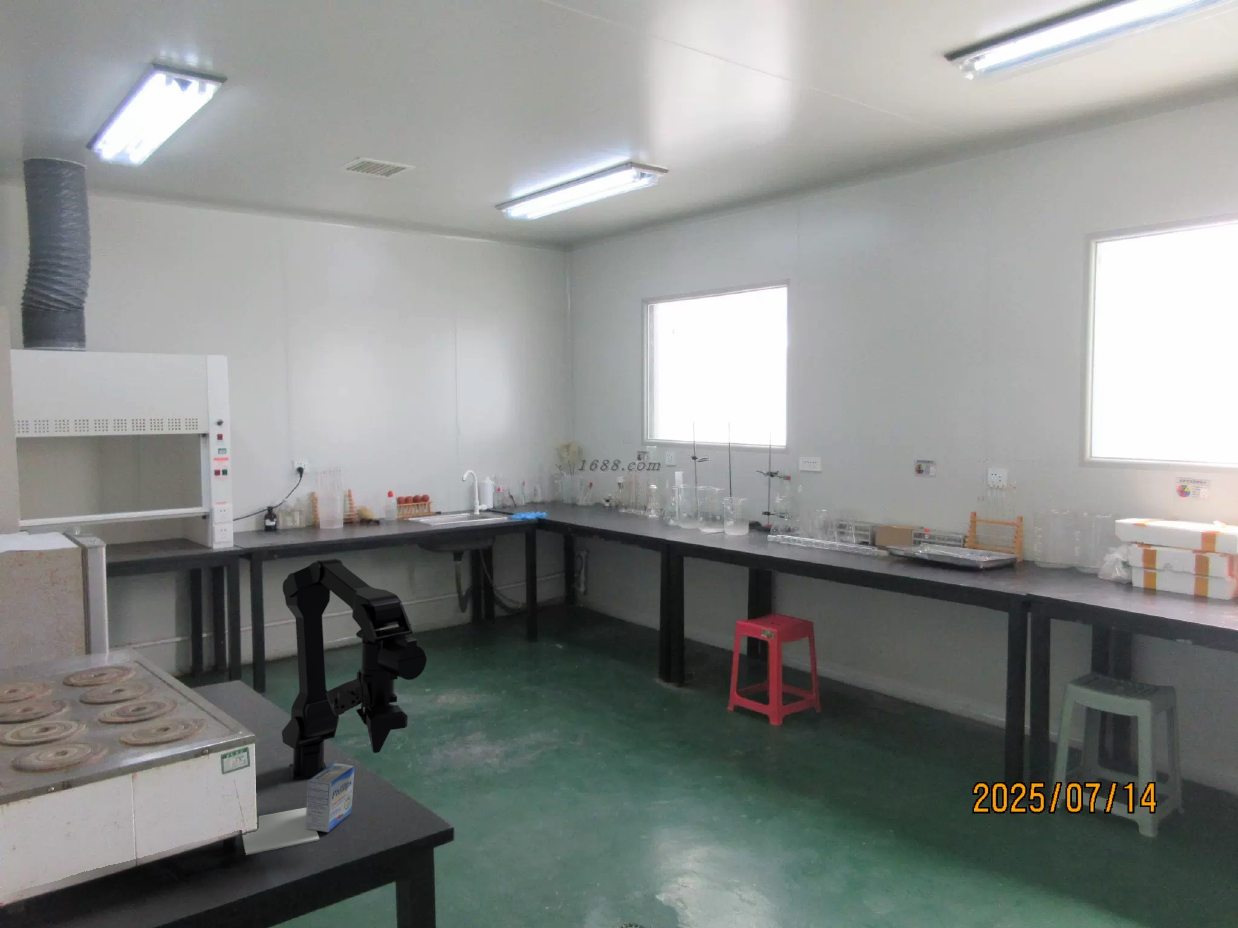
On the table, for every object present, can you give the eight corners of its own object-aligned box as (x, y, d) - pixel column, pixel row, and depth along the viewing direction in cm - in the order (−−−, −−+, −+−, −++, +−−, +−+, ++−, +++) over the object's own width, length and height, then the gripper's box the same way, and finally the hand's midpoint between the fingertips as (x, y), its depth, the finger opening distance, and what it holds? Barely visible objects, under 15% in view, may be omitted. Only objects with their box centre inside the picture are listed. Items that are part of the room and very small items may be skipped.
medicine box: (328, 833, 140) (331, 783, 140) (304, 829, 141) (307, 778, 140) (352, 813, 148) (355, 765, 147) (329, 809, 149) (332, 761, 148)
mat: (239, 821, 143) (239, 819, 143) (308, 808, 149) (308, 806, 149) (245, 854, 133) (245, 852, 133) (319, 839, 138) (319, 838, 138)
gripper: (321, 656, 151) (319, 739, 152) (341, 687, 135) (338, 781, 136) (383, 649, 157) (381, 730, 157) (409, 679, 140) (407, 769, 141)
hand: (376, 751), depth 148 cm, fingers closed
